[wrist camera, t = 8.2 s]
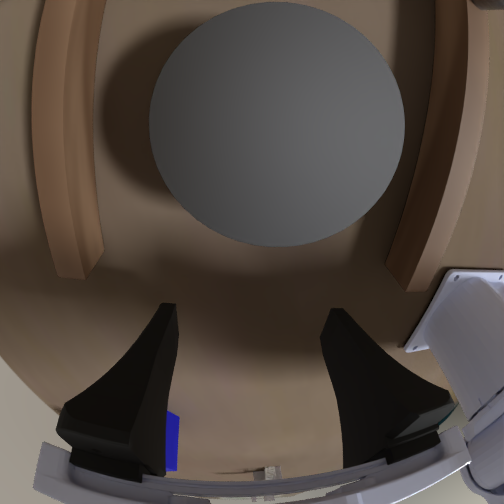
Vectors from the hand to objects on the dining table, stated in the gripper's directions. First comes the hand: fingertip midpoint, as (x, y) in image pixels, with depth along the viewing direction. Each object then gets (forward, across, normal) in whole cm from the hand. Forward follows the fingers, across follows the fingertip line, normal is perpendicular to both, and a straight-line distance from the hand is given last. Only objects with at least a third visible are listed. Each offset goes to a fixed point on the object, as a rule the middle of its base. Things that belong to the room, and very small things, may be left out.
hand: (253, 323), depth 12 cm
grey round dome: (+3, 0, -9) cm, 9 cm away
